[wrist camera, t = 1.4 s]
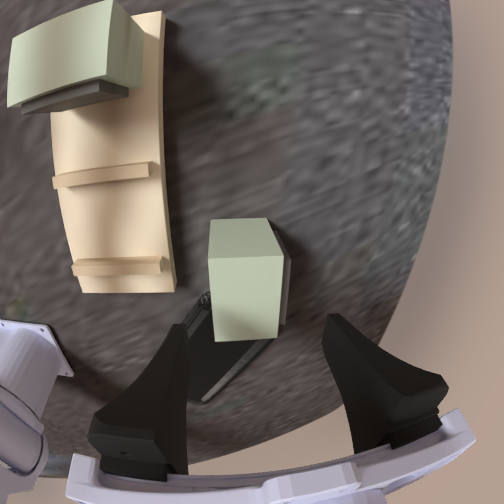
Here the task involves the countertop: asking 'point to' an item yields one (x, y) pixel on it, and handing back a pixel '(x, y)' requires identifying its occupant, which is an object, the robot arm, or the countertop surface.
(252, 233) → the block
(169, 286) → the block holder
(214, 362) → the phone
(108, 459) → the robot arm
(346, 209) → the countertop surface
